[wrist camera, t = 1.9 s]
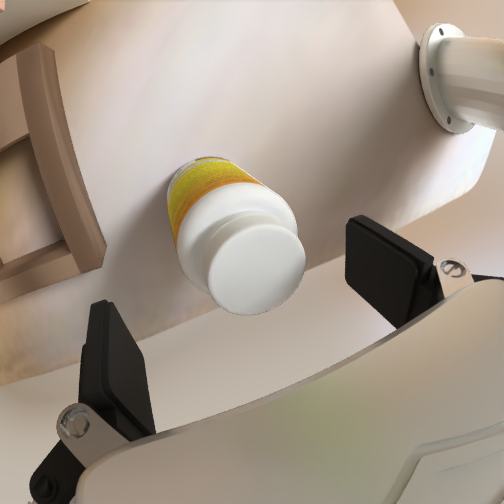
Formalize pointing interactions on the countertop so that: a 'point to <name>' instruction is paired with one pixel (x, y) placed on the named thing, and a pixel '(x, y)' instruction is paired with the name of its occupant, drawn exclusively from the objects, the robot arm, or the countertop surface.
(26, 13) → the pink-topped white panel
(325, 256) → the countertop surface
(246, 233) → the supplement bottle
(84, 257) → the socket block
